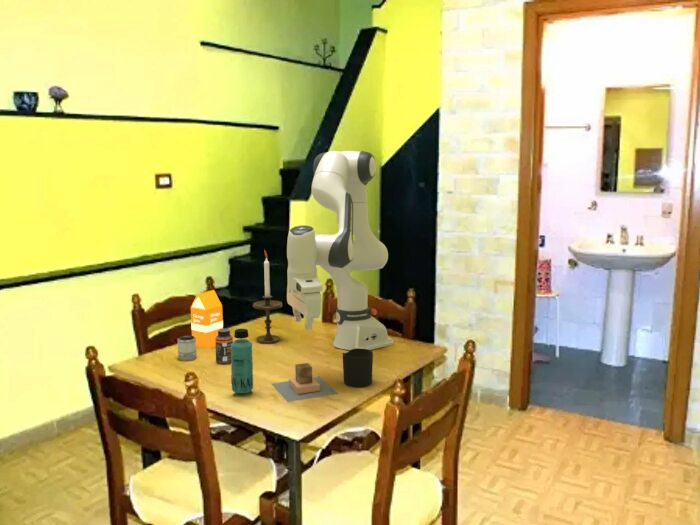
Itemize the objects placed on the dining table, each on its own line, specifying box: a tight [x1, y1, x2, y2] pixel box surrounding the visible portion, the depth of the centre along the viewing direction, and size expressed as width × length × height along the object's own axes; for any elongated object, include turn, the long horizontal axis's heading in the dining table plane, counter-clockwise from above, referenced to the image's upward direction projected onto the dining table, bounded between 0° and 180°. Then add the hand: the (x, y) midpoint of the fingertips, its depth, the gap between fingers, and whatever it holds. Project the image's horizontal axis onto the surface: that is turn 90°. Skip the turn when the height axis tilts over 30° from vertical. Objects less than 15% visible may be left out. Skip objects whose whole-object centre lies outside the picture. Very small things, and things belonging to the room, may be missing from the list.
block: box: [294, 362, 313, 384], centre depth 202 cm, size 4×4×5 cm
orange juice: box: [190, 289, 224, 349], centre depth 247 cm, size 8×9×20 cm
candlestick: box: [252, 249, 283, 345], centre depth 250 cm, size 11×11×35 cm
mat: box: [271, 376, 339, 403], centre depth 202 cm, size 16×16×1 cm
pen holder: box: [341, 348, 374, 389], centre depth 207 cm, size 9×9×10 cm
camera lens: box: [177, 334, 197, 362], centre depth 232 cm, size 6×6×8 cm
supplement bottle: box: [214, 328, 234, 365], centre depth 228 cm, size 6×6×11 cm
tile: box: [288, 377, 320, 394], centre depth 202 cm, size 7×2×8 cm
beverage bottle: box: [230, 328, 254, 394], centre depth 197 cm, size 6×7×20 cm
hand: (303, 325), depth 201 cm, fingers open, 8 cm apart
